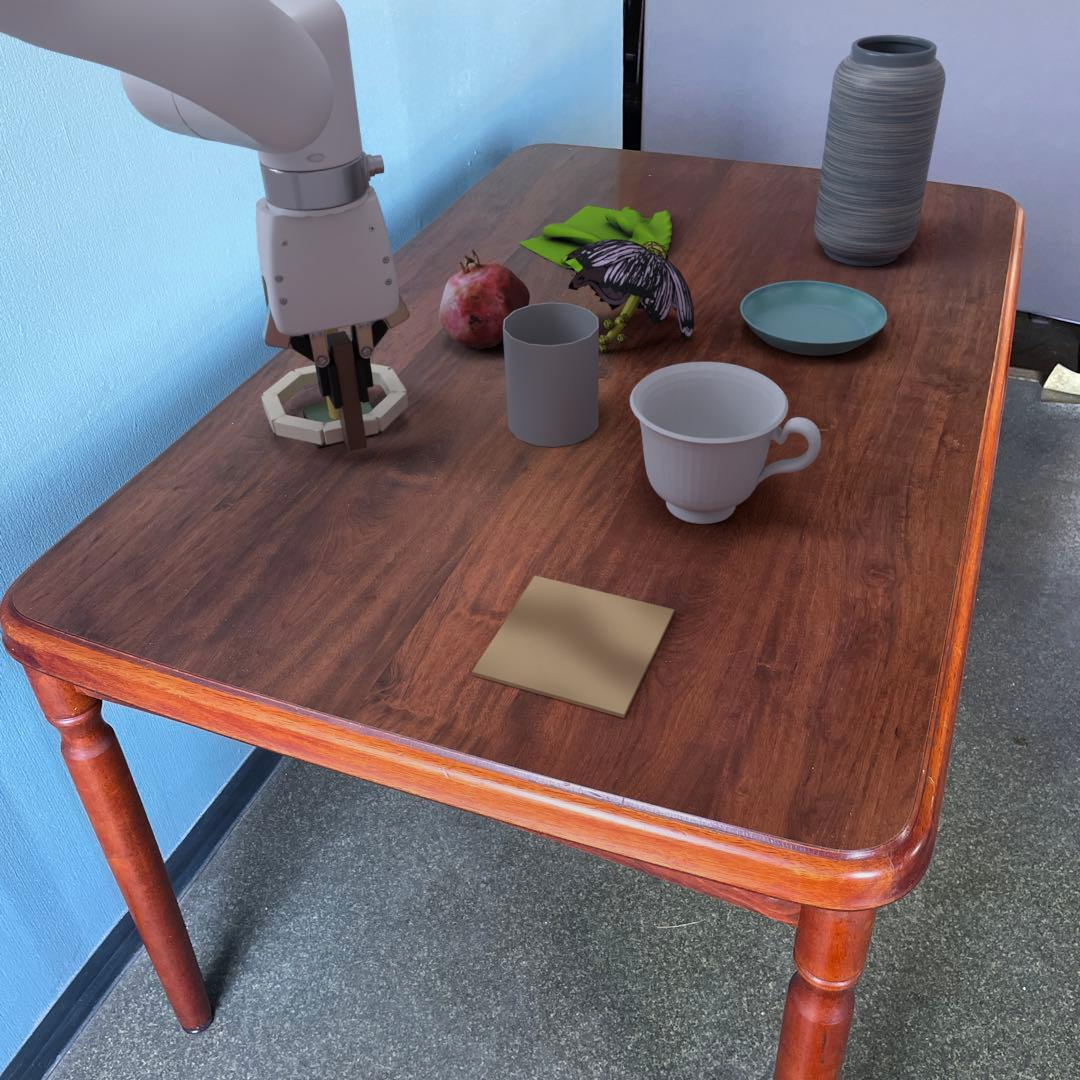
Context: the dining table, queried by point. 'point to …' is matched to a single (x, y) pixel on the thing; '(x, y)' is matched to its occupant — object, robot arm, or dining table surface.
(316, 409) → the stand
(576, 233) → the cloth
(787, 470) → the teacup
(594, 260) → the decorative flower
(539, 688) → the cork pad
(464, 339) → the fruit
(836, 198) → the vase
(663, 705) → the dining table surface
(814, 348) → the saucer
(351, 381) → the ring
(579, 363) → the cup
